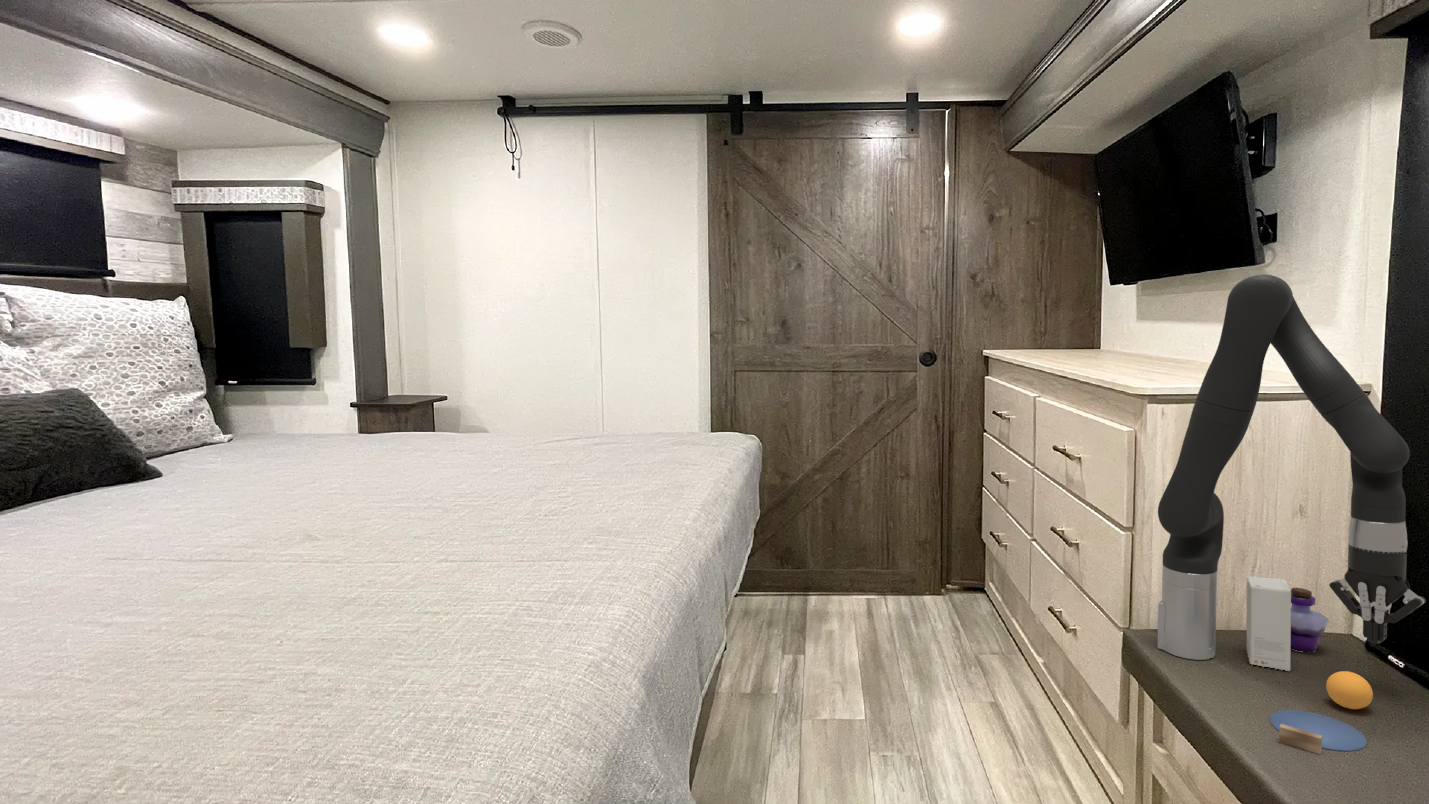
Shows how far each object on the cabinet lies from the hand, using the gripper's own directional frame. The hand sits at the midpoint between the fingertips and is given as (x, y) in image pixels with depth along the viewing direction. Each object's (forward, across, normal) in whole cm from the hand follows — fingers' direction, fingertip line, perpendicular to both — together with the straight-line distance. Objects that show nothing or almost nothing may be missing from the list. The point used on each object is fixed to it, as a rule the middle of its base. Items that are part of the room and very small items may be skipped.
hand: (1374, 641), depth 129 cm
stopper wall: (+9, 0, -30) cm, 31 cm away
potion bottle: (+9, -15, +11) cm, 21 cm away
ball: (+6, 0, -9) cm, 11 cm away
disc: (+9, 0, -22) cm, 24 cm away
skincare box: (+9, -16, 0) cm, 19 cm away
